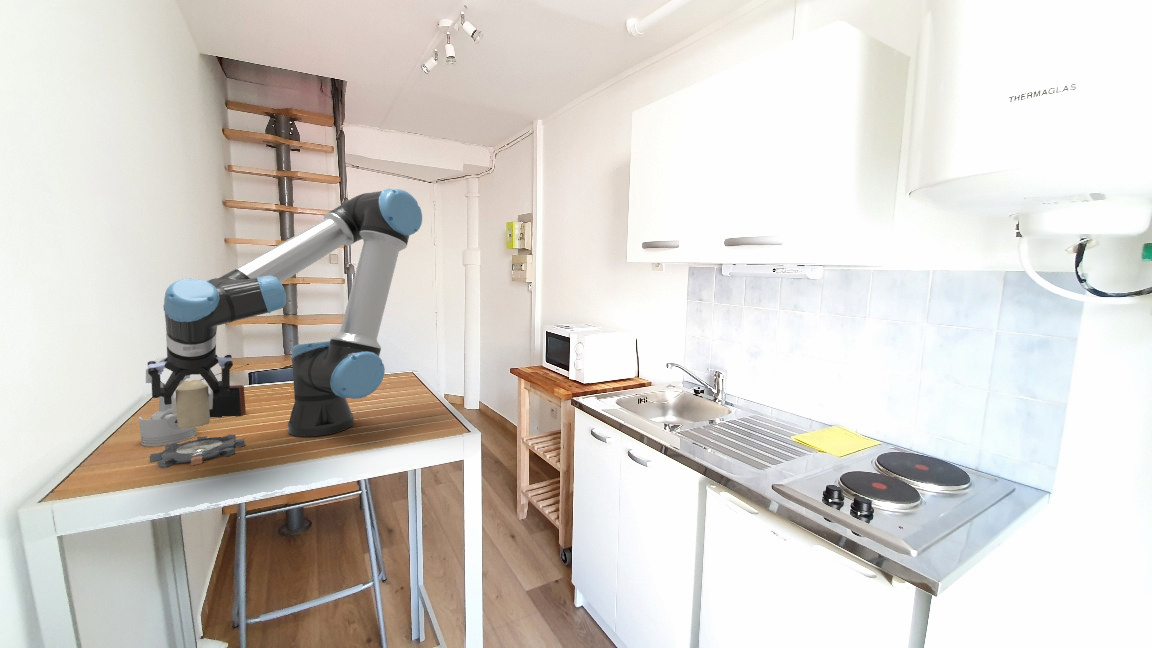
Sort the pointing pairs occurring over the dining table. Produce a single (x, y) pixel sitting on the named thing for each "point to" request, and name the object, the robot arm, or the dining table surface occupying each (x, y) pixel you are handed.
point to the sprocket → (197, 450)
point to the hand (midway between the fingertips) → (192, 406)
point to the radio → (229, 402)
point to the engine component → (163, 422)
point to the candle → (192, 404)
